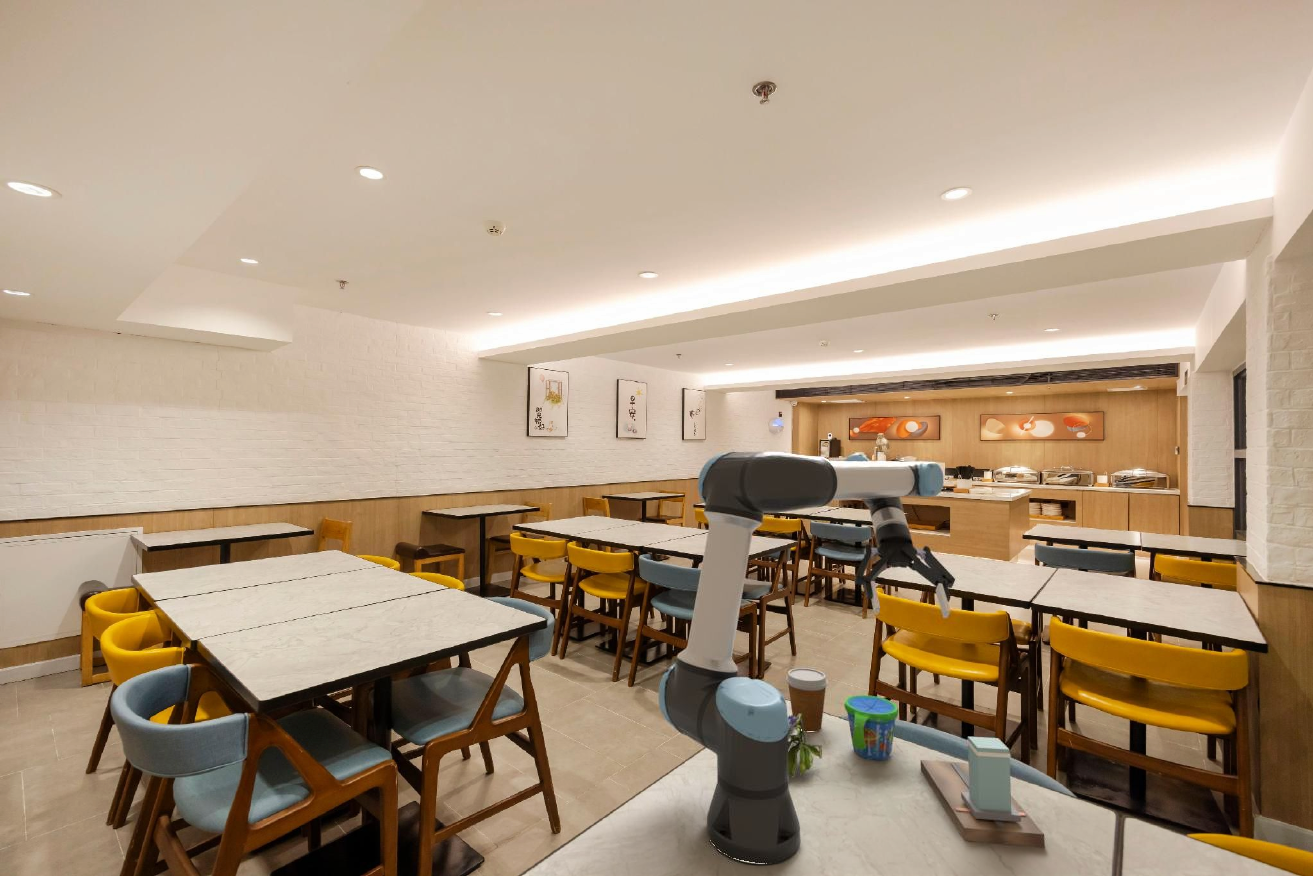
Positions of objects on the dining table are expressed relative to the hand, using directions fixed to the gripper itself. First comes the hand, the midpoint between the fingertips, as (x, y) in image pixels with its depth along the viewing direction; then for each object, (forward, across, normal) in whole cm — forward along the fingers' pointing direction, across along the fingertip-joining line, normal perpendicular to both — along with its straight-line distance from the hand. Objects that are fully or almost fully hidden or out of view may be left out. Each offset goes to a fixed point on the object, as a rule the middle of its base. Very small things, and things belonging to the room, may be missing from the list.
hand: (911, 613), depth 118 cm
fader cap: (+33, -7, -7) cm, 34 cm away
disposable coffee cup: (+11, +19, -33) cm, 40 cm away
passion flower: (+24, +24, -20) cm, 39 cm away
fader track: (+30, -7, -13) cm, 34 cm away
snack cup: (+18, +7, -25) cm, 32 cm away
